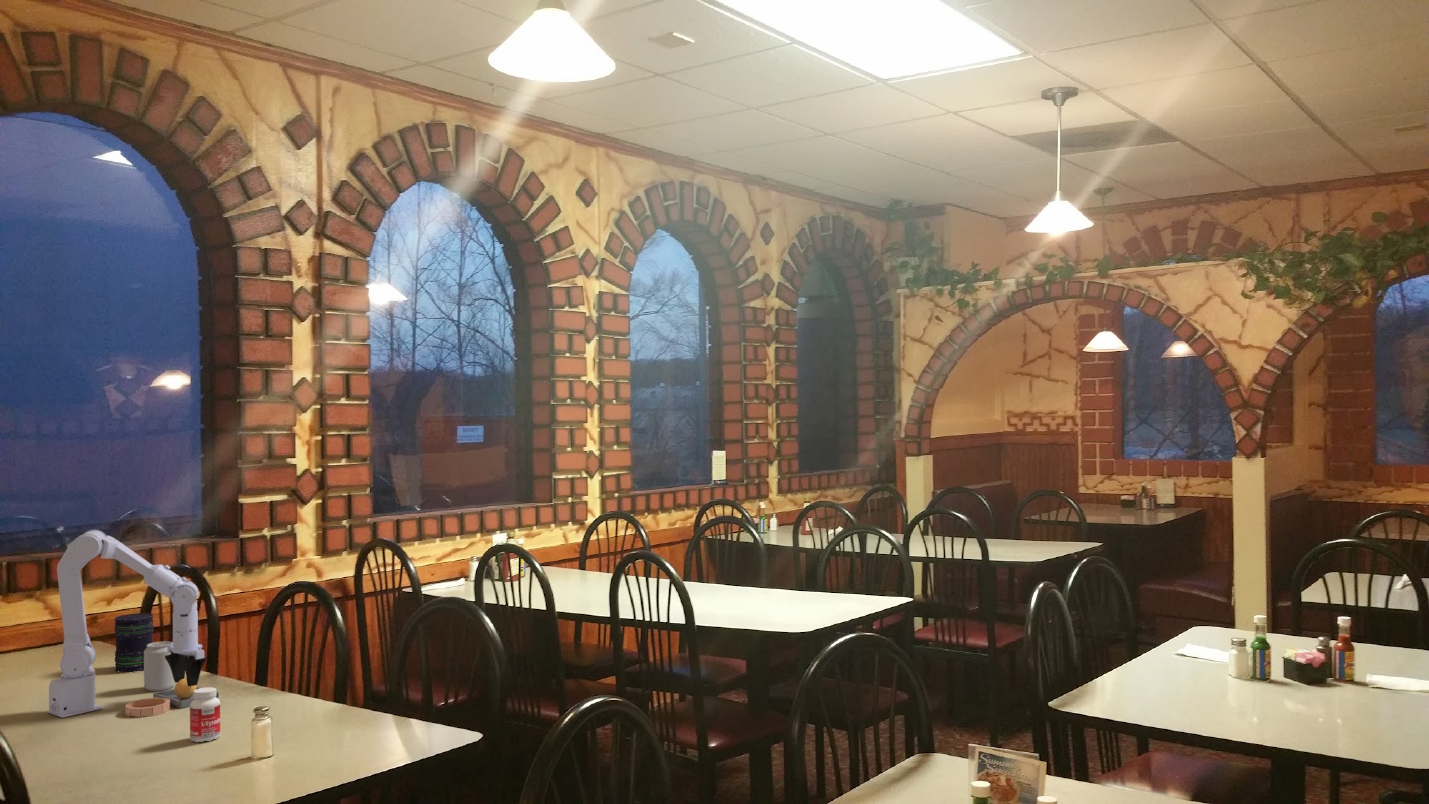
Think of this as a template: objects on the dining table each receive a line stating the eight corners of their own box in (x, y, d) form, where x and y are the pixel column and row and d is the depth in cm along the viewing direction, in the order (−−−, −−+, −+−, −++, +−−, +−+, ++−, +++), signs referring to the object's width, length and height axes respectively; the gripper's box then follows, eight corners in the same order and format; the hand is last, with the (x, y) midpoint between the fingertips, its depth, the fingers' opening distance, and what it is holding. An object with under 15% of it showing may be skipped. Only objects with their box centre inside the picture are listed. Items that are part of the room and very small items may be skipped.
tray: (179, 708, 265) (179, 701, 265) (153, 700, 273) (153, 693, 273) (218, 699, 273) (218, 692, 273) (191, 691, 281) (191, 685, 281)
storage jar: (122, 665, 310) (121, 613, 310) (158, 663, 312) (158, 612, 312) (109, 673, 301) (108, 620, 301) (147, 672, 302) (146, 619, 302)
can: (166, 692, 281) (166, 646, 281) (138, 692, 281) (137, 646, 281) (181, 684, 288) (181, 640, 288) (153, 684, 288) (153, 640, 288)
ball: (181, 701, 269) (181, 681, 270) (171, 699, 272) (170, 679, 272) (200, 697, 274) (200, 677, 274) (190, 694, 276) (189, 675, 276)
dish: (137, 719, 257) (137, 710, 257) (118, 712, 262) (118, 704, 262) (177, 709, 264) (177, 701, 264) (157, 703, 270) (157, 695, 270)
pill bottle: (201, 744, 237) (201, 694, 237) (184, 740, 240) (183, 691, 240) (226, 737, 242) (226, 688, 242) (209, 733, 245) (208, 684, 245)
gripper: (215, 630, 272) (216, 684, 272) (186, 624, 281) (186, 676, 281) (188, 635, 266) (188, 690, 266) (158, 628, 275) (159, 681, 275)
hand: (185, 683), depth 273 cm, fingers open, 6 cm apart
